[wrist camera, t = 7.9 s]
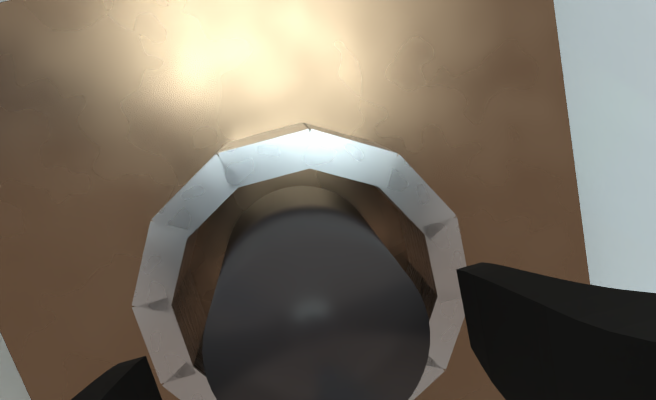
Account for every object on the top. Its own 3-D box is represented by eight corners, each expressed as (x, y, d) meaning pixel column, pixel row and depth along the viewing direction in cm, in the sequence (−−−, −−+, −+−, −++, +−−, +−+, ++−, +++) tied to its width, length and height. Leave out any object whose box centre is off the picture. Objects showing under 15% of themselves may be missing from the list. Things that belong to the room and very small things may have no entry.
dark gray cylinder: (248, 342, 17) (238, 473, 11) (208, 207, 16) (172, 273, 10) (387, 305, 17) (447, 413, 11) (357, 169, 16) (407, 212, 10)
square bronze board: (118, 558, 19) (82, 670, 15) (-113, 38, 14) (-246, 18, 11) (595, 412, 20) (667, 483, 16) (523, -115, 16) (602, -180, 12)
